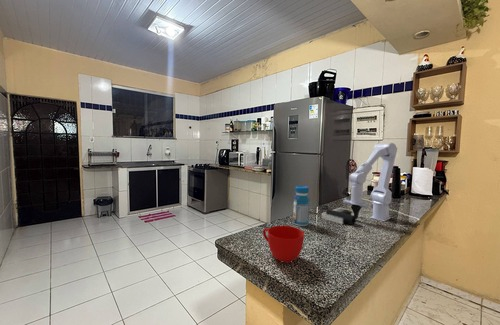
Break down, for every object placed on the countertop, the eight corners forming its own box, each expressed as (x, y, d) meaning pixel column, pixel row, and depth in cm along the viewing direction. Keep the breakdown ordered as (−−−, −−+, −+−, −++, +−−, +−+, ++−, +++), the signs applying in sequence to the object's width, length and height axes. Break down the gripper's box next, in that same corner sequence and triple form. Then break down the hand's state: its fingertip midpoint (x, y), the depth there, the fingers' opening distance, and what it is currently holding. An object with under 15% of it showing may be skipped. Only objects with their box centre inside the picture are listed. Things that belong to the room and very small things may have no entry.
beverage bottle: (302, 227, 113) (303, 188, 112) (289, 223, 120) (290, 186, 118) (312, 224, 119) (313, 187, 117) (299, 220, 125) (300, 184, 124)
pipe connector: (336, 206, 136) (361, 212, 124) (336, 214, 136) (361, 221, 125) (325, 209, 129) (351, 216, 117) (325, 218, 129) (350, 226, 118)
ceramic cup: (273, 244, 94) (273, 220, 93) (309, 258, 82) (310, 232, 81) (252, 254, 84) (252, 228, 84) (289, 272, 73) (290, 242, 72)
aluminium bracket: (340, 211, 143) (340, 207, 142) (360, 217, 133) (360, 212, 132) (321, 218, 129) (321, 213, 129) (342, 224, 120) (342, 218, 119)
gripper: (340, 193, 127) (339, 216, 128) (367, 197, 116) (366, 223, 117) (346, 191, 131) (346, 214, 132) (372, 195, 120) (371, 220, 121)
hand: (355, 218), depth 125 cm, fingers closed, pressing on pipe connector
